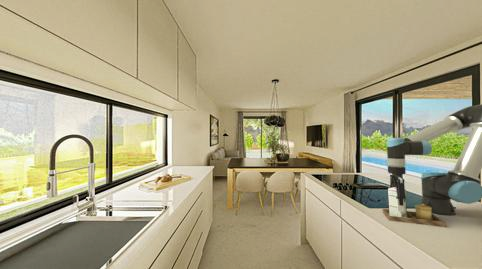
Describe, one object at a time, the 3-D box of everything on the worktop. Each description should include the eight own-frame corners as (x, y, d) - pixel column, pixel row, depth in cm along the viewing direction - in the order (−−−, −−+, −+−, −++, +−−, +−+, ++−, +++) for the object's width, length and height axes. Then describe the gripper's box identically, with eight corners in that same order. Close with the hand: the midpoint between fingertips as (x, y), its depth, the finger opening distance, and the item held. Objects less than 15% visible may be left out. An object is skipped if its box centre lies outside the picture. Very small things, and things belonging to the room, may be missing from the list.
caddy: (432, 219, 103) (431, 213, 103) (445, 228, 92) (444, 222, 92) (382, 213, 112) (382, 208, 112) (389, 221, 101) (388, 216, 101)
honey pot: (428, 219, 102) (427, 202, 102) (435, 224, 96) (434, 206, 96) (413, 217, 104) (412, 201, 104) (418, 222, 98) (417, 205, 98)
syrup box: (401, 218, 100) (400, 190, 101) (388, 214, 105) (387, 187, 106) (407, 216, 103) (406, 188, 103) (394, 212, 108) (393, 186, 108)
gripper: (382, 163, 116) (384, 202, 115) (394, 168, 97) (395, 214, 96) (398, 164, 113) (399, 203, 112) (413, 169, 94) (415, 216, 93)
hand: (397, 208), depth 104 cm, fingers closed on syrup box, 8 cm apart
